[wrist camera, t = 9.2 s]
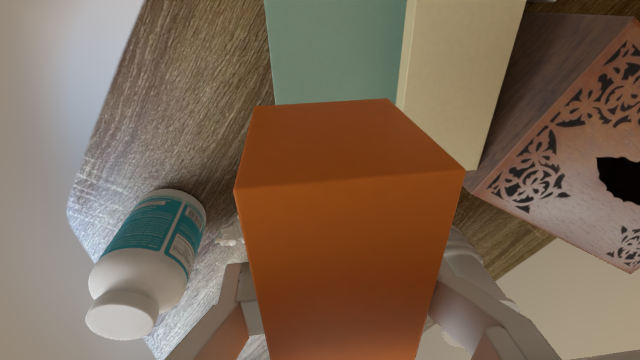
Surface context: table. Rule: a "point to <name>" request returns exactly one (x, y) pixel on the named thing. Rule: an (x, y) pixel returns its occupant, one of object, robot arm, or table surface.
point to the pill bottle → (145, 265)
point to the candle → (470, 271)
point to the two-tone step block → (399, 60)
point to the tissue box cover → (569, 134)
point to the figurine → (230, 235)
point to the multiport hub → (542, 1)
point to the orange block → (344, 227)
